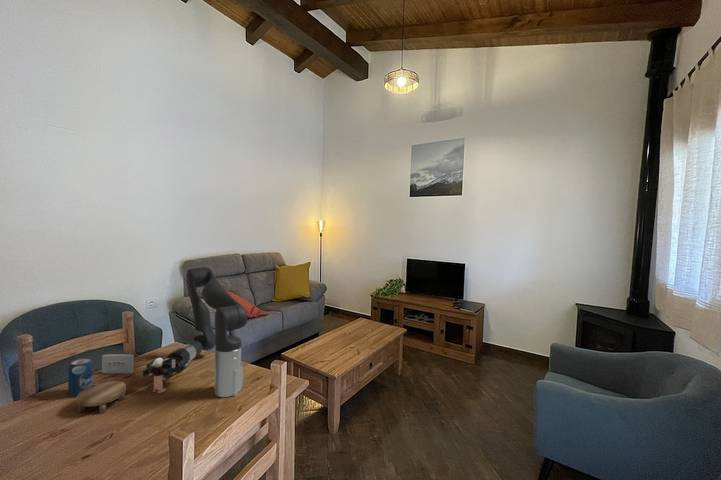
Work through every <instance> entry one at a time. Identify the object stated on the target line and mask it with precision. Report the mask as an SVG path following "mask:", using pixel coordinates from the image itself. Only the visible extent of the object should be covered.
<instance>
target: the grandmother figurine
mask: <svg viewBox="0 0 721 480" xmlns="http://www.w3.org/2000/svg"><path fill="white" fill-rule="evenodd" d="M155 359H156V360H155ZM155 359H154V360H155V361H154V362H153V364H152V365H153V366H154V365H155V367H154V368H153V369H151V370H150V374H148V375H149V377H151V376H152V375H153V390H152V392H153V393H157V394H161V393H163V392H166V388H165V387H164V384H163V381H165V380H166V379H167V377H166V378H164V377H163V373H164V372H165V369H164V370H163V368H161V366H162V362H163V360H164V359H163V358H162V357H157V358H155Z"/></svg>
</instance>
